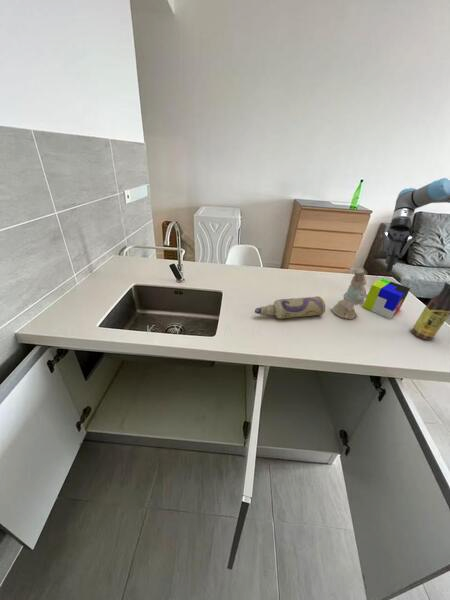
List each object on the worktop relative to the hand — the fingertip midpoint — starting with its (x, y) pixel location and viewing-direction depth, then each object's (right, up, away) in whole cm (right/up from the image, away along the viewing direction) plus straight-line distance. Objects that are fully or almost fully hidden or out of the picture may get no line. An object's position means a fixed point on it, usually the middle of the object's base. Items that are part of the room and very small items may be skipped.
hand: (388, 270), depth 102 cm
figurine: (-23, -18, -10) cm, 31 cm away
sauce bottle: (-1, -25, -18) cm, 31 cm away
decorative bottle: (-45, -18, -11) cm, 50 cm away
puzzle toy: (-7, -16, -5) cm, 18 cm away
